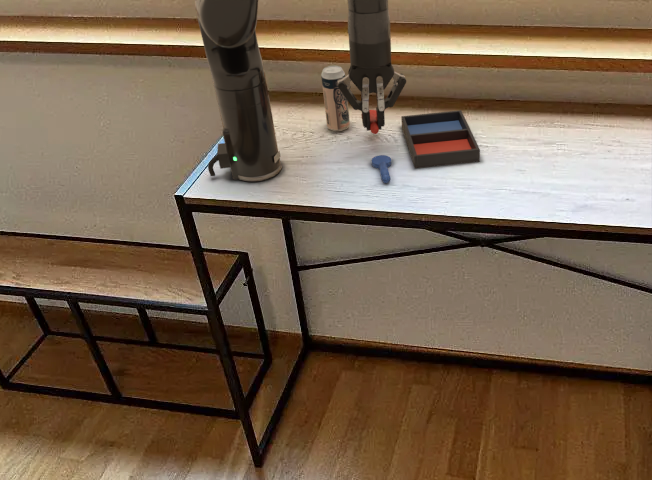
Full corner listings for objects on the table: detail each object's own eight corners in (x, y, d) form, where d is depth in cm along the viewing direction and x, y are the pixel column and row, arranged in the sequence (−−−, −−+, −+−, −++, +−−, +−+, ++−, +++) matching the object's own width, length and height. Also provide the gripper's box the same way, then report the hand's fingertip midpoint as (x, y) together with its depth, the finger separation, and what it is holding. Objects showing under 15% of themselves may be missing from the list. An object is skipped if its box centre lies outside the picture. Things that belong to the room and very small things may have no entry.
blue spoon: (396, 183, 131) (396, 175, 130) (376, 185, 131) (376, 177, 129) (390, 158, 138) (389, 150, 137) (370, 160, 138) (370, 152, 136)
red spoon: (385, 134, 136) (384, 126, 135) (365, 136, 136) (365, 128, 135) (379, 113, 143) (378, 105, 142) (360, 114, 143) (360, 107, 142)
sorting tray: (414, 168, 134) (414, 156, 133) (401, 127, 147) (401, 116, 145) (479, 161, 135) (480, 149, 134) (461, 121, 148) (461, 110, 146)
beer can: (345, 133, 146) (339, 75, 138) (323, 131, 147) (316, 73, 139) (353, 123, 149) (348, 65, 141) (332, 121, 151) (326, 63, 142)
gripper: (332, 44, 123) (340, 139, 135) (410, 39, 124) (411, 134, 136) (329, 30, 128) (337, 123, 140) (404, 25, 129) (405, 117, 141)
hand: (373, 128), depth 138 cm, fingers closed on red spoon, 1 cm apart
